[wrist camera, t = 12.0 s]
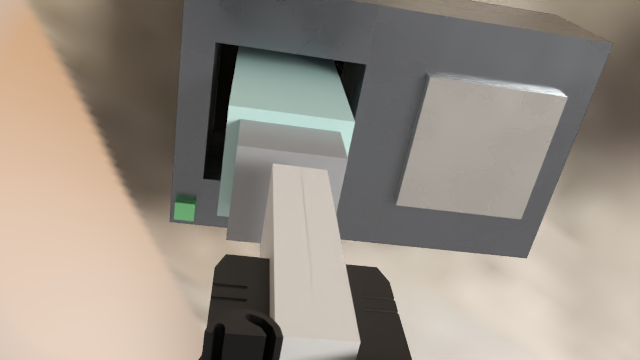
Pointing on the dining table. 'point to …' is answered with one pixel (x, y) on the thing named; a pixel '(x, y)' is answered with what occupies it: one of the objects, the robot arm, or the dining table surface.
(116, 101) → the dining table surface
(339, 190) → the plug
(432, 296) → the dining table surface
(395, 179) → the port panel
